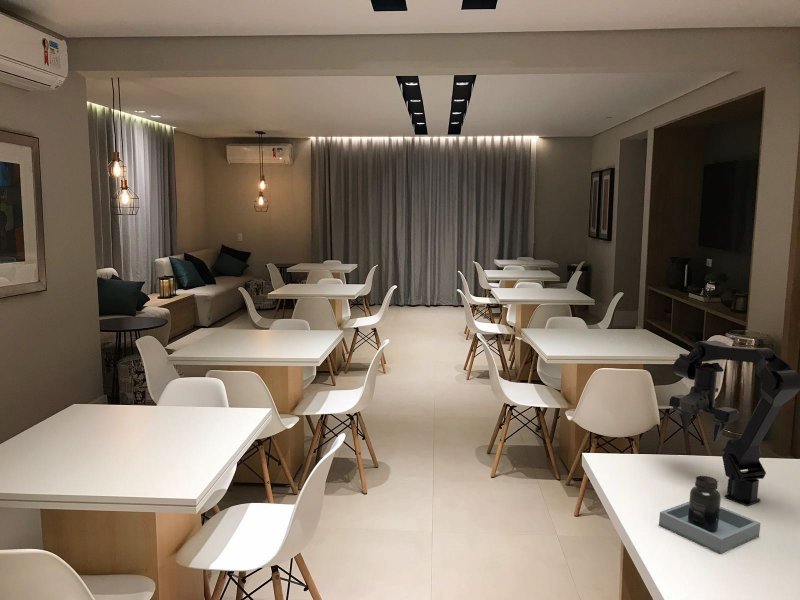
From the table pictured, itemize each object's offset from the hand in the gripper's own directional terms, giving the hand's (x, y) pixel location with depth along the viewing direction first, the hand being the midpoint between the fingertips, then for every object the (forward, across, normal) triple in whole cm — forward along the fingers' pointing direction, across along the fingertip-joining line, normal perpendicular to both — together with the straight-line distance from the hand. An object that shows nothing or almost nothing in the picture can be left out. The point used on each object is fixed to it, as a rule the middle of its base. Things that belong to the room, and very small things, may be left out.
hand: (700, 436), depth 195 cm
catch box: (+12, +22, -29) cm, 38 cm away
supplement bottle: (+12, +21, -29) cm, 38 cm away
